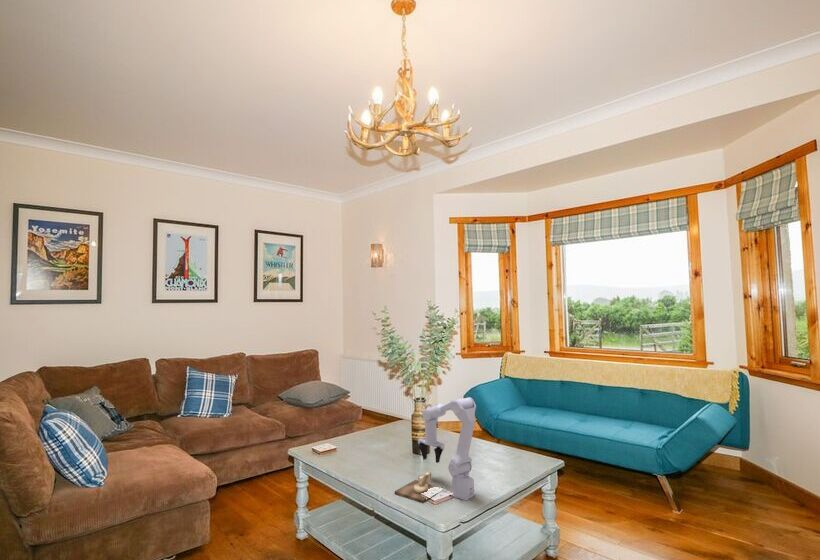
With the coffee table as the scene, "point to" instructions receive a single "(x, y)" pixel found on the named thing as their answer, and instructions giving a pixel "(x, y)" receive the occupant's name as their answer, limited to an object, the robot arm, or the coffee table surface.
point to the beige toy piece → (422, 483)
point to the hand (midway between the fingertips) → (431, 460)
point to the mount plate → (412, 491)
